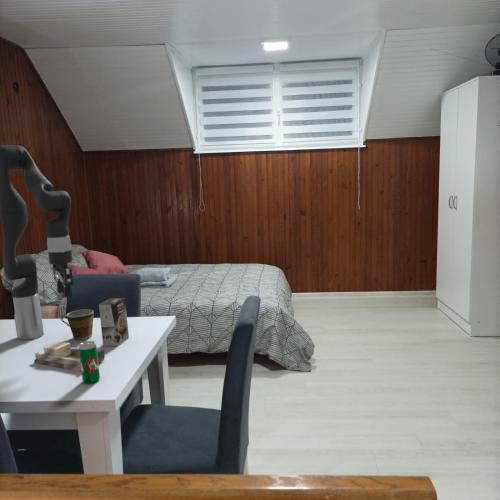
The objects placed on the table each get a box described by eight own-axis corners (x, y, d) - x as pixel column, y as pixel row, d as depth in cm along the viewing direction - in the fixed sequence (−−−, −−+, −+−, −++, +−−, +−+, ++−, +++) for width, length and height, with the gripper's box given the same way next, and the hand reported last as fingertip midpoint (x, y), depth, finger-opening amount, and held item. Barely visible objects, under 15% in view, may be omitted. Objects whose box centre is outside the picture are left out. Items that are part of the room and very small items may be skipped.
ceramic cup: (100, 332, 181) (97, 308, 179) (89, 341, 171) (86, 316, 170) (69, 333, 182) (66, 309, 181) (57, 342, 173) (53, 317, 171)
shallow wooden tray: (34, 362, 154) (32, 351, 153) (57, 351, 163) (56, 341, 162) (84, 372, 144) (82, 360, 143) (106, 360, 153) (105, 348, 152)
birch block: (45, 358, 154) (43, 347, 153) (59, 352, 159) (57, 341, 159) (57, 360, 152) (56, 349, 151) (71, 354, 157) (70, 343, 156)
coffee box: (118, 346, 165) (114, 304, 162) (102, 346, 166) (97, 303, 164) (129, 337, 174) (125, 297, 171) (114, 337, 175) (110, 297, 172)
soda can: (85, 377, 140) (80, 341, 138) (101, 376, 140) (97, 339, 138) (80, 385, 135) (76, 347, 133) (97, 383, 135) (93, 345, 133)
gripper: (42, 248, 158) (48, 293, 161) (54, 253, 147) (59, 301, 150) (64, 245, 163) (69, 289, 165) (77, 250, 151) (82, 296, 154)
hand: (64, 294), depth 158 cm, fingers open, 8 cm apart
